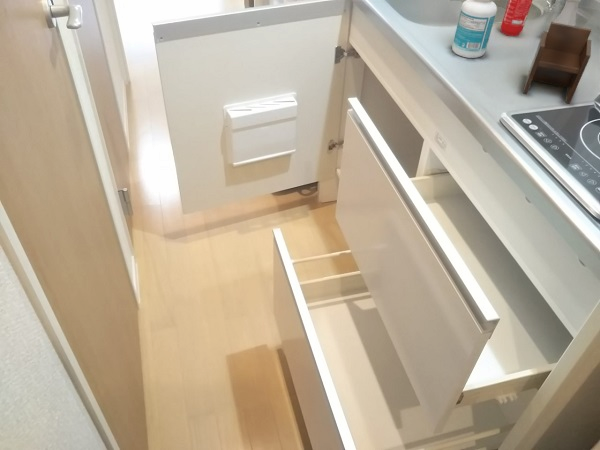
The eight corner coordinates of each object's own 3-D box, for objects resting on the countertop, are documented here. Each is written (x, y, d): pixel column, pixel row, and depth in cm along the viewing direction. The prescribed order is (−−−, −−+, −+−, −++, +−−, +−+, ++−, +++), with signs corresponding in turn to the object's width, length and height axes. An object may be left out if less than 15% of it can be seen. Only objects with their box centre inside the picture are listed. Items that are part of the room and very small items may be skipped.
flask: (580, 41, 126) (598, -1, 119) (562, 48, 123) (579, 4, 116) (554, 31, 130) (570, -11, 123) (536, 37, 127) (551, -6, 120)
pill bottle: (469, 43, 122) (485, -17, 113) (491, 56, 118) (509, -6, 108) (444, 48, 120) (458, -13, 111) (465, 61, 115) (482, -1, 106)
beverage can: (498, 34, 127) (514, -17, 119) (500, 27, 131) (515, -24, 122) (520, 38, 126) (537, -14, 118) (521, 30, 129) (538, -20, 121)
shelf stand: (571, 86, 108) (595, 30, 100) (569, 104, 103) (595, 45, 95) (526, 77, 111) (547, 21, 102) (522, 93, 105) (544, 35, 97)
